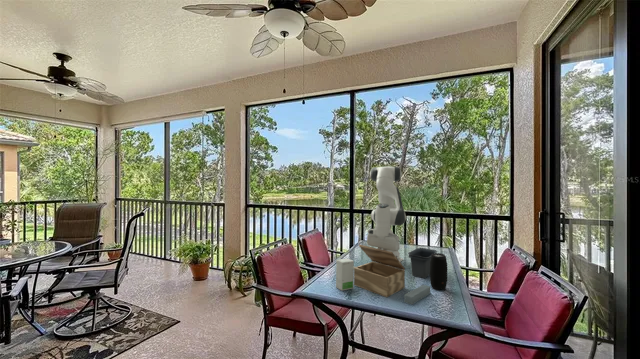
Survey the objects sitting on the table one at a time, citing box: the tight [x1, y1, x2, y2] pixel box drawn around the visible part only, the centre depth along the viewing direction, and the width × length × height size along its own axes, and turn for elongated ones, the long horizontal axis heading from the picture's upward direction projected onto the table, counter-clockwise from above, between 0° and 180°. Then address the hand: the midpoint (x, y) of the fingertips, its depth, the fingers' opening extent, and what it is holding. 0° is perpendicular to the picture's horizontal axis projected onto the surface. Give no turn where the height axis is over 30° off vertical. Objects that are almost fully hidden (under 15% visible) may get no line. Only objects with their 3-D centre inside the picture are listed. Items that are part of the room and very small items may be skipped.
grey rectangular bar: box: [403, 284, 431, 306], centre depth 140 cm, size 20×4×4 cm, turn 133°
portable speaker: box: [429, 252, 448, 291], centre depth 152 cm, size 8×9×19 cm
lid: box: [358, 244, 406, 270], centre depth 156 cm, size 18×22×1 cm
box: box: [353, 261, 406, 298], centre depth 154 cm, size 18×22×10 cm
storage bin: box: [408, 247, 439, 279], centre depth 176 cm, size 21×16×14 cm
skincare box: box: [335, 258, 355, 291], centre depth 152 cm, size 8×7×16 cm
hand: (382, 255), depth 157 cm, fingers closed
